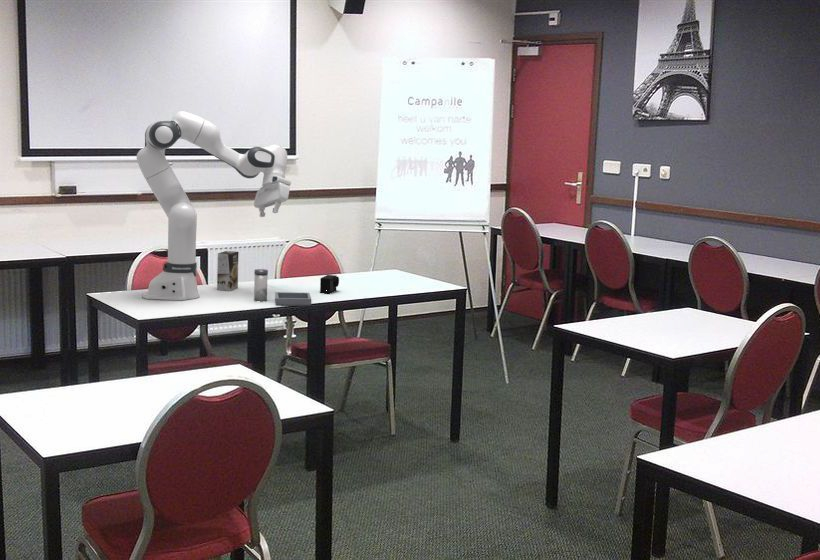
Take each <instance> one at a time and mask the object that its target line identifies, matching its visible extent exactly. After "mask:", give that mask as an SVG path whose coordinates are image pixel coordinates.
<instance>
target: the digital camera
mask: <svg viewBox="0 0 820 560" xmlns="http://www.w3.org/2000/svg"><path fill="white" fill-rule="evenodd" d="M339 284H340V277H339V276H337V275H335V274H327V275H324V276H322V277H320V284H319V285H320V286H319V294H320V293H324V294H323V295H331V294H333V293H335V292H337V287H338V286H339ZM326 290H327V291H326ZM334 291H335V292H334ZM332 292H333V293H332ZM330 293H331V294H330Z"/></svg>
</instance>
